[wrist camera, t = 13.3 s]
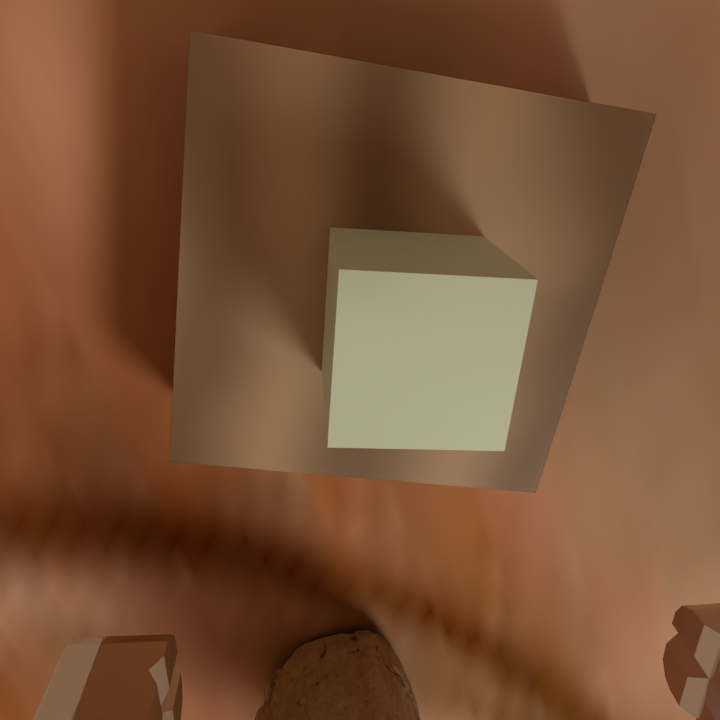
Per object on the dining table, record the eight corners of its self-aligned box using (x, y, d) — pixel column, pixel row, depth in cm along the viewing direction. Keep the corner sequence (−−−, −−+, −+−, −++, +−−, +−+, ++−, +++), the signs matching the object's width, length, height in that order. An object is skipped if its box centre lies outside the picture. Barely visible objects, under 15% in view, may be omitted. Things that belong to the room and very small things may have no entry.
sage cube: (484, 236, 20) (537, 279, 16) (462, 376, 22) (504, 451, 18) (330, 227, 20) (339, 269, 15) (321, 371, 22) (327, 447, 17)
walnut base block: (588, 109, 24) (656, 114, 19) (498, 428, 29) (535, 492, 25) (213, 42, 22) (189, 30, 17) (191, 398, 27) (169, 461, 23)
